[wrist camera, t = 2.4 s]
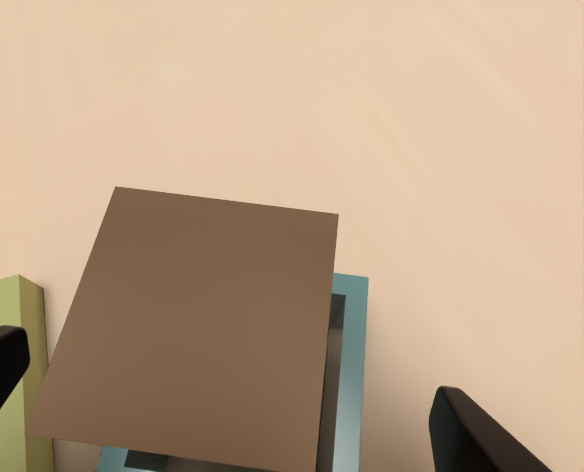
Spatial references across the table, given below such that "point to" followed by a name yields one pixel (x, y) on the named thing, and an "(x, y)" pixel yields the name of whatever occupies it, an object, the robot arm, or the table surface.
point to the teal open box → (336, 404)
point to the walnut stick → (197, 333)
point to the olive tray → (24, 380)
